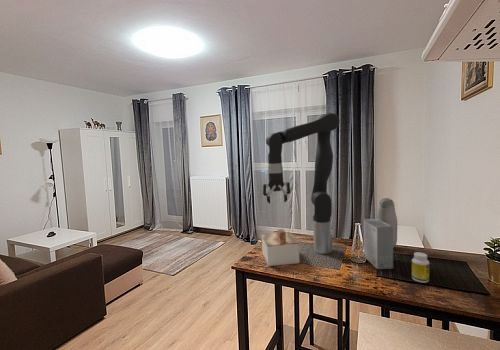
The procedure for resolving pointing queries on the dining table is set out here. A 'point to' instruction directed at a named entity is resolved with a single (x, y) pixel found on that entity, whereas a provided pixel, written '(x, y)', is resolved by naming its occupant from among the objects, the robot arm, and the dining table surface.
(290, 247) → the carton
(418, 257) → the pill bottle
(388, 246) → the hard drive box
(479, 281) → the dining table surface
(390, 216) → the grey bottle
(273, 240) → the flap
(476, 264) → the dining table surface
